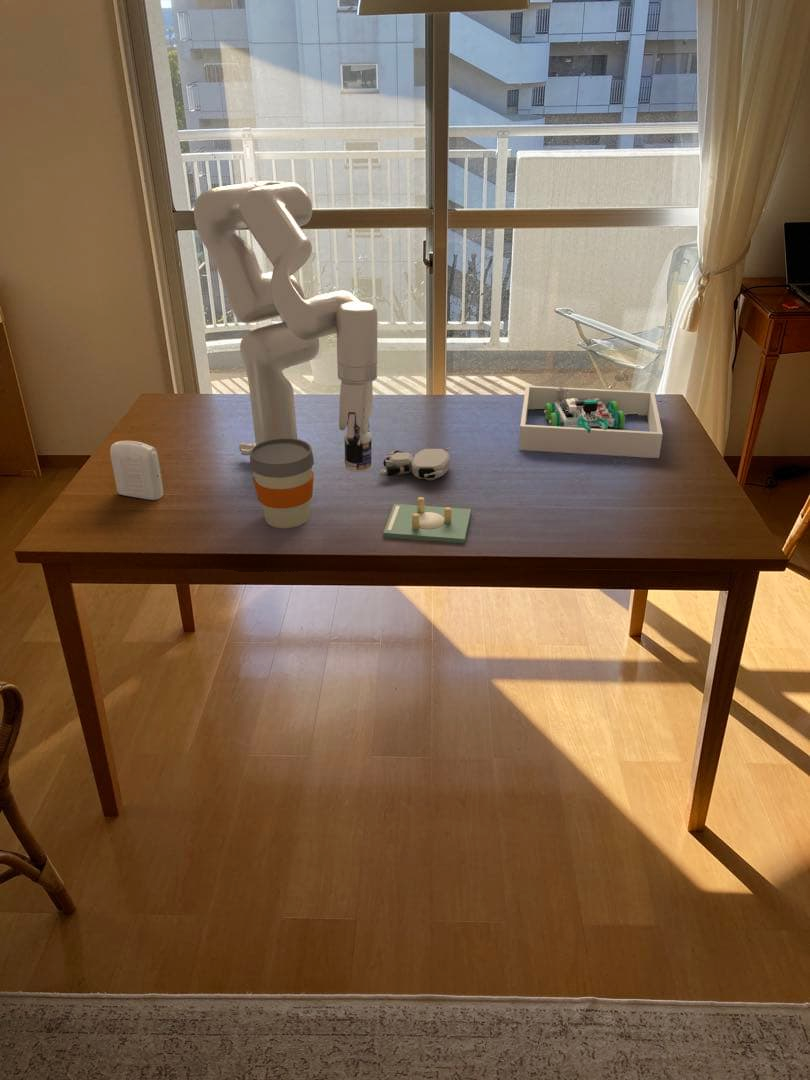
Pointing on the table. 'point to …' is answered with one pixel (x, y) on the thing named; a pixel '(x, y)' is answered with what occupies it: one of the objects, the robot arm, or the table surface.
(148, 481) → the photo printer
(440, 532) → the board
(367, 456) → the pill bottle
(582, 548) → the table surface
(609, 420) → the robot kit
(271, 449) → the reusable coffee cup
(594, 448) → the storage frame
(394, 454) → the robot toy
